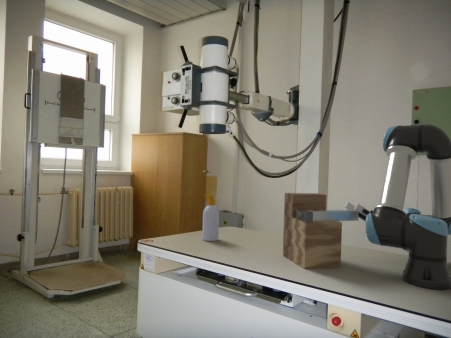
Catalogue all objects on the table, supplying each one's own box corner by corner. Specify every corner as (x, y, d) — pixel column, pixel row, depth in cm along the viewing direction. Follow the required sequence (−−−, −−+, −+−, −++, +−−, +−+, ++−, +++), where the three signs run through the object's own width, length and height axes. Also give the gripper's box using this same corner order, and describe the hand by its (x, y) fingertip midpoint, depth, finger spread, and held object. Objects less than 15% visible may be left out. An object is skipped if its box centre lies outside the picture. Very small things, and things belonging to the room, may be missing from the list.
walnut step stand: (340, 267, 138) (342, 197, 137) (304, 268, 133) (306, 197, 133) (315, 254, 157) (316, 193, 157) (282, 255, 153) (284, 192, 153)
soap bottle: (205, 237, 189) (207, 193, 189) (221, 239, 185) (222, 194, 185) (197, 239, 181) (199, 194, 181) (213, 241, 177) (214, 195, 177)
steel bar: (361, 221, 142) (361, 211, 142) (306, 222, 134) (306, 212, 134) (349, 218, 149) (349, 209, 149) (295, 219, 141) (296, 209, 141)
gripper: (403, 243, 141) (361, 216, 136) (372, 234, 160) (334, 210, 155) (411, 227, 142) (369, 199, 137) (379, 220, 161) (342, 195, 156)
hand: (351, 205), depth 146 cm, fingers open, 6 cm apart
